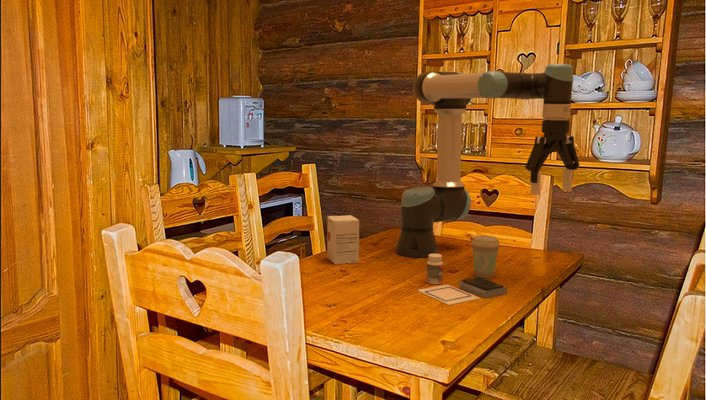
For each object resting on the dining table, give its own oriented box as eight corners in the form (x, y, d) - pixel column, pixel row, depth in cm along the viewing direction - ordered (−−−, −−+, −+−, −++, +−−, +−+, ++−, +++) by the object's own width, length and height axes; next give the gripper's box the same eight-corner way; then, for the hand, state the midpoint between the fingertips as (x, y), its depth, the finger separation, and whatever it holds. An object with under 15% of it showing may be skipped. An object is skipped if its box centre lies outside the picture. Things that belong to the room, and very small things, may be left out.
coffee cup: (465, 273, 177) (466, 236, 175) (488, 270, 180) (489, 234, 178) (479, 280, 169) (481, 242, 167) (503, 278, 172) (505, 240, 170)
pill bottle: (442, 285, 164) (443, 257, 163) (426, 284, 165) (426, 256, 164) (442, 280, 169) (443, 253, 167) (427, 279, 170) (427, 252, 168)
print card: (416, 290, 159) (416, 289, 159) (447, 285, 164) (447, 284, 164) (448, 305, 147) (448, 304, 147) (480, 298, 152) (480, 297, 152)
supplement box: (326, 258, 194) (326, 215, 191) (351, 256, 197) (351, 214, 194) (333, 265, 185) (334, 220, 183) (359, 263, 188) (359, 219, 186)
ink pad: (458, 287, 162) (459, 279, 162) (479, 283, 166) (479, 276, 166) (485, 298, 153) (485, 290, 152) (506, 293, 157) (507, 286, 156)
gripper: (536, 119, 150) (531, 197, 154) (595, 119, 163) (589, 191, 166) (515, 119, 157) (511, 193, 160) (573, 119, 169) (568, 188, 173)
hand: (551, 192), depth 163 cm, fingers open, 13 cm apart
